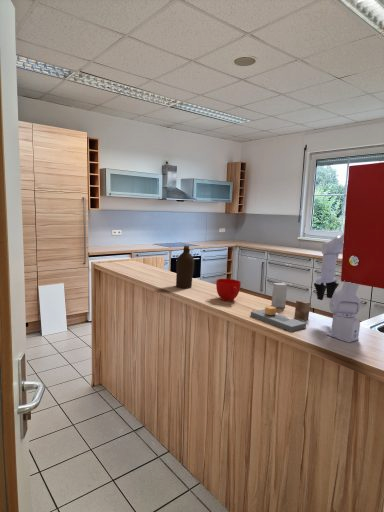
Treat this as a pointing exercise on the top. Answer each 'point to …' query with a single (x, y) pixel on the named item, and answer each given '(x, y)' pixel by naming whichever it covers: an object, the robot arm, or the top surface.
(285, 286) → the skincare box
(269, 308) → the switch tab
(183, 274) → the olive oil
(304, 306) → the walnut pusher
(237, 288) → the ceramic cup
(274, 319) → the switch board
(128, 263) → the top surface
